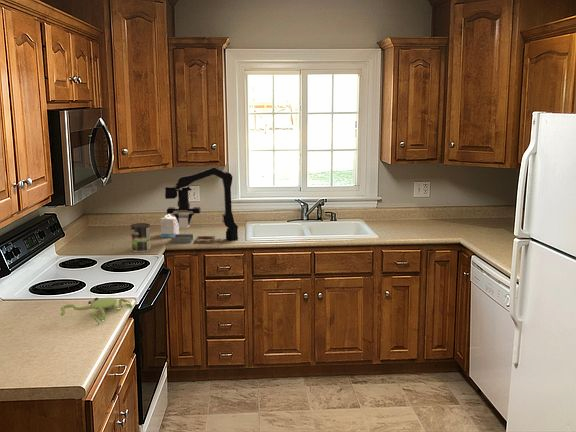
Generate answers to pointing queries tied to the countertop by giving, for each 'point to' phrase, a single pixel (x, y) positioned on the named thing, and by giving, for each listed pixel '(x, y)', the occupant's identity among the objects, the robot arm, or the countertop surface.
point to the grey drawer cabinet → (182, 238)
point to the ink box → (169, 226)
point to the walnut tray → (204, 239)
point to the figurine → (97, 306)
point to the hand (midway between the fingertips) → (184, 225)
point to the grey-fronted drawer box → (183, 221)
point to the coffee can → (140, 237)
